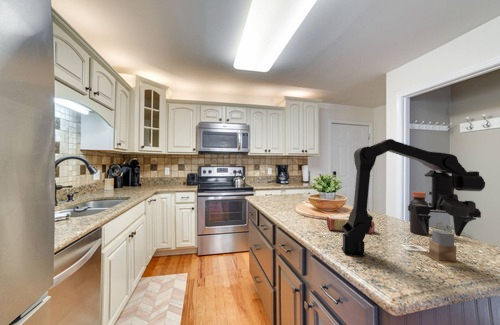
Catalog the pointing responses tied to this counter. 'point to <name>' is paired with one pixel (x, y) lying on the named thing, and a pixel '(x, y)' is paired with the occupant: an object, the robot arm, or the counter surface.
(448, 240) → the gray cube
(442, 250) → the walnut block
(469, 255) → the counter surface
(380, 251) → the counter surface
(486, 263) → the counter surface
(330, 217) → the snack package
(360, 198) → the robot arm
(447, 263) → the shard
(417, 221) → the bottle
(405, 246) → the plan card
